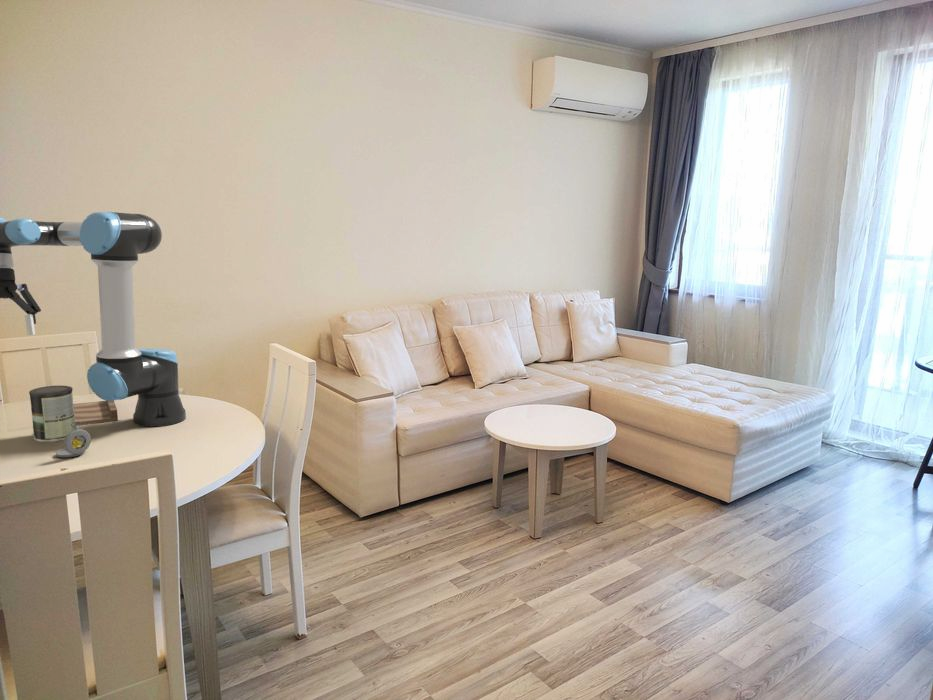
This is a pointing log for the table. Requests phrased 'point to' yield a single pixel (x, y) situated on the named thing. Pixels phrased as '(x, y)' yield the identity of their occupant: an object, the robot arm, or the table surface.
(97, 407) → the cradle
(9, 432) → the table surface
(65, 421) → the coffee can
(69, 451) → the pocket watch
